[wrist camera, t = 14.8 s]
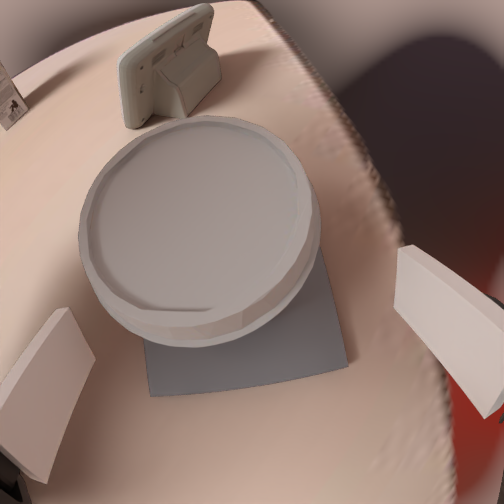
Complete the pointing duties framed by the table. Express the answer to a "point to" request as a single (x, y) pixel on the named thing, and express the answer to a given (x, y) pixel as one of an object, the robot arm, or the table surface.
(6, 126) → the printed cardboard box
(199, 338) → the disposable coffee cup
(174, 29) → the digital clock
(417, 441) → the table surface
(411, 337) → the table surface
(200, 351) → the charcoal tile
